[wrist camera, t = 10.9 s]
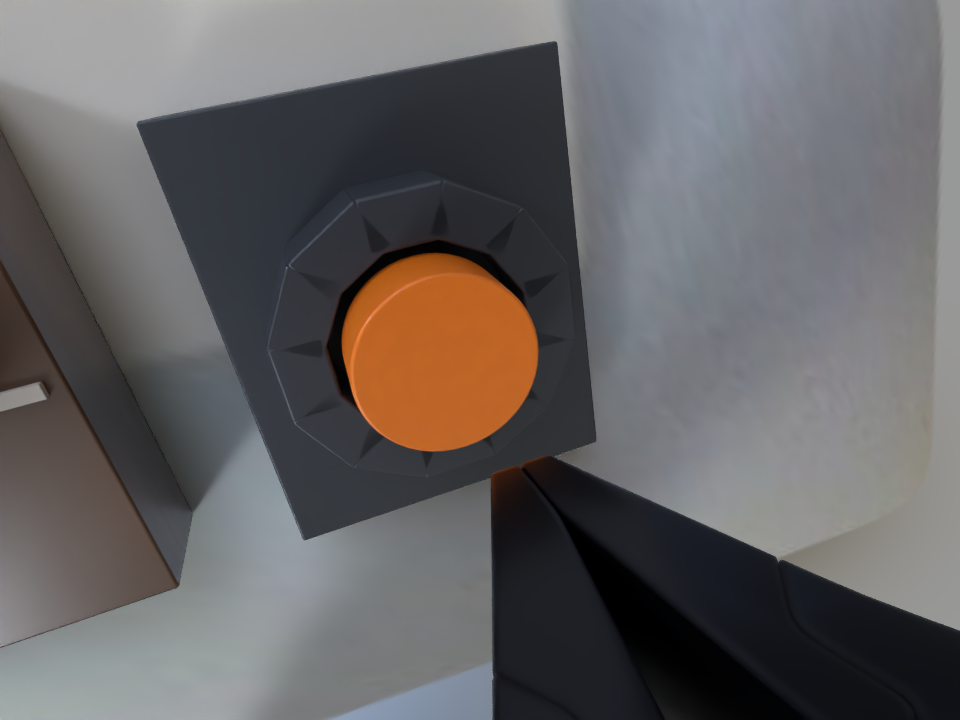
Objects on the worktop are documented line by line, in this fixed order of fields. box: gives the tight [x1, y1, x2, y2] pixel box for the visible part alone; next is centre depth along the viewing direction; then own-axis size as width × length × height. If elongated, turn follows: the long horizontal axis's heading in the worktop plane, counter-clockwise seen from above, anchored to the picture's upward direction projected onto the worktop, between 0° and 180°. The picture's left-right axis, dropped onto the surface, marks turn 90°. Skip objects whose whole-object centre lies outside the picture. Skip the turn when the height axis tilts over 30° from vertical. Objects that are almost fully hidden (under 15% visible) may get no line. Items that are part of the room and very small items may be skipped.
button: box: [341, 253, 539, 451], centre depth 13 cm, size 4×4×2 cm
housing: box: [137, 41, 596, 540], centre depth 15 cm, size 11×9×4 cm
